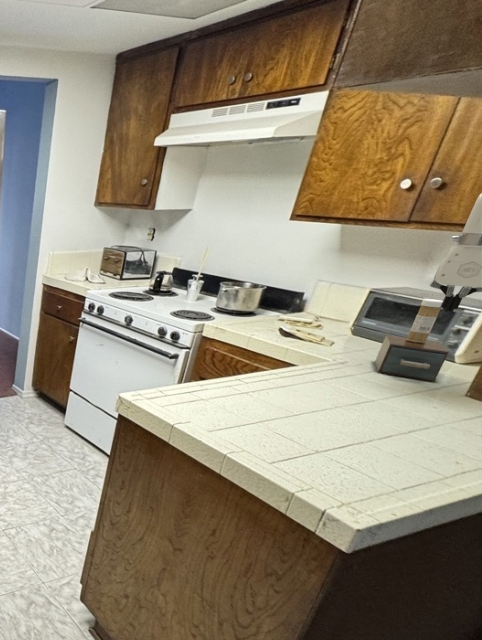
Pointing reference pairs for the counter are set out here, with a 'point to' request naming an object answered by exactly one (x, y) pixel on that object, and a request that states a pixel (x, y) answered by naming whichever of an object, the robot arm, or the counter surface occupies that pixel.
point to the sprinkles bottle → (424, 320)
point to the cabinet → (403, 343)
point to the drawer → (413, 362)
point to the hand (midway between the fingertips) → (447, 310)
